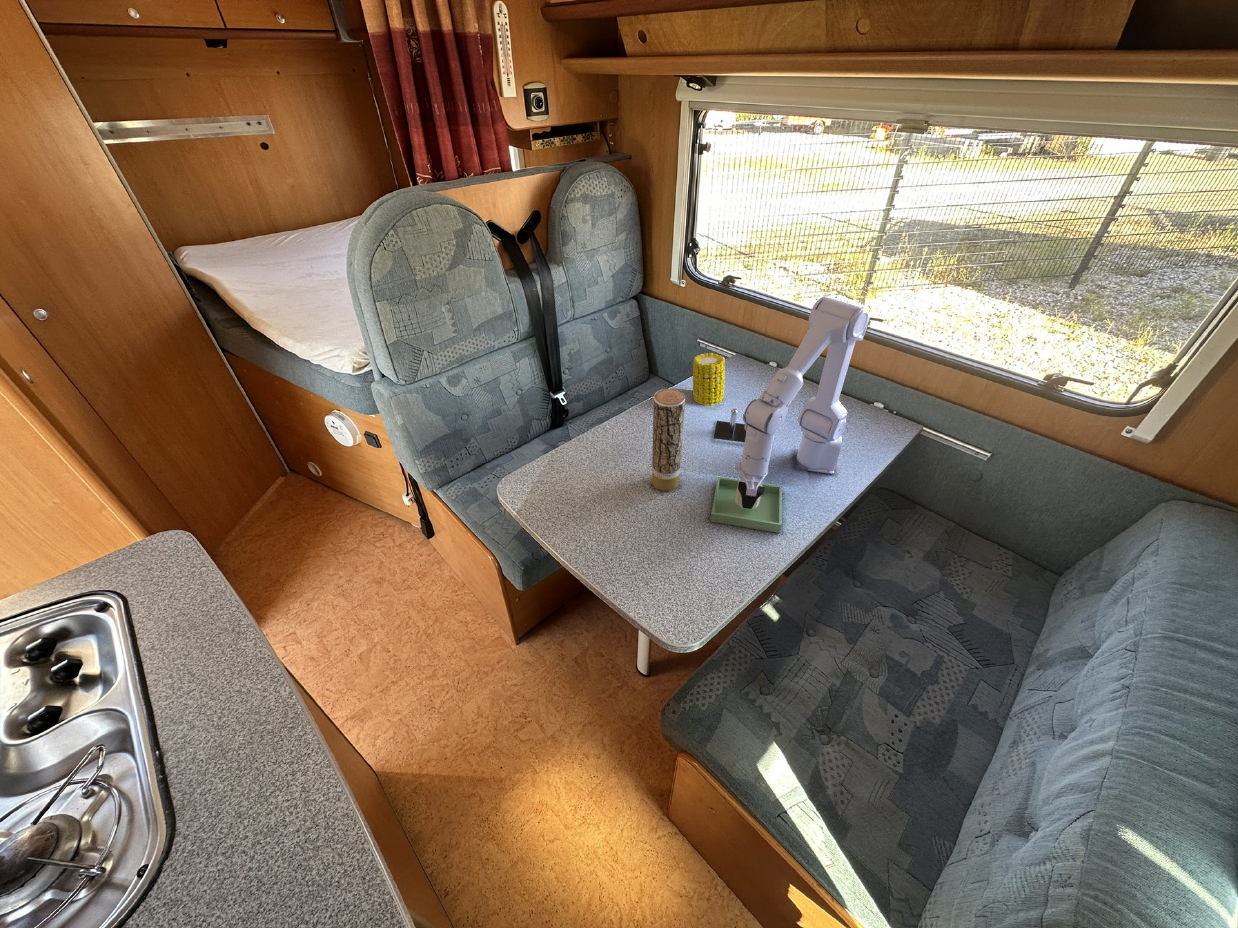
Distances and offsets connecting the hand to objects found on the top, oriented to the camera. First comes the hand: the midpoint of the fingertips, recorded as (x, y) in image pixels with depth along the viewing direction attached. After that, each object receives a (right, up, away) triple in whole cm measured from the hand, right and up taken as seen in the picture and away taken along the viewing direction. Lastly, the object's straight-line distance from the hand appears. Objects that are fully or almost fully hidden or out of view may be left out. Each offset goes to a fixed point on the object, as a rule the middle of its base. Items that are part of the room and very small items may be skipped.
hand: (748, 498), depth 113 cm
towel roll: (0, -1, 0) cm, 1 cm away
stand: (+2, +16, +25) cm, 30 cm away
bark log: (-18, +3, +9) cm, 21 cm away
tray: (0, -2, +2) cm, 3 cm away
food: (-3, +28, +40) cm, 48 cm away
